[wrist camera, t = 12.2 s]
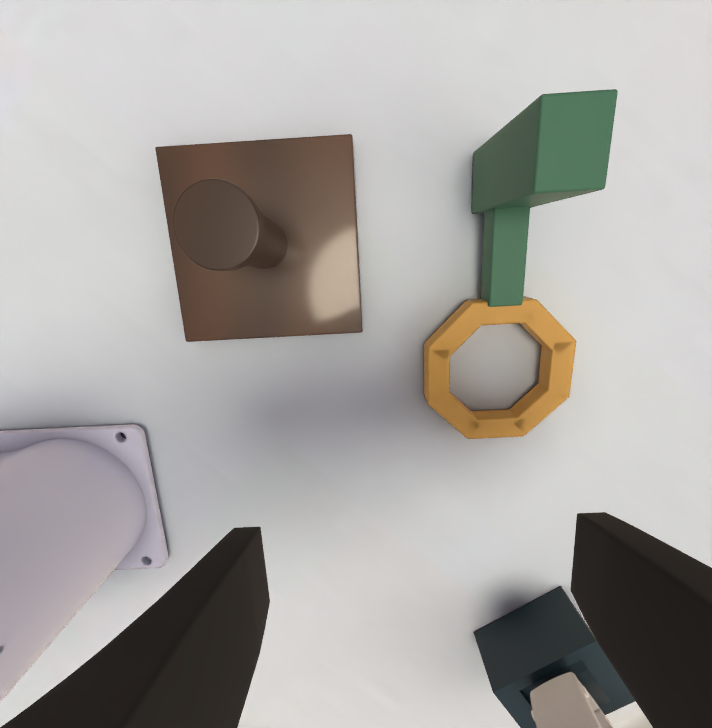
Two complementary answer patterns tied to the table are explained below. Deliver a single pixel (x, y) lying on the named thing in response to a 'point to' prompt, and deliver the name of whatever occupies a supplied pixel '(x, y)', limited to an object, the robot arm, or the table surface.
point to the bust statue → (550, 667)
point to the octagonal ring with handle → (522, 249)
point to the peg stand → (264, 237)
